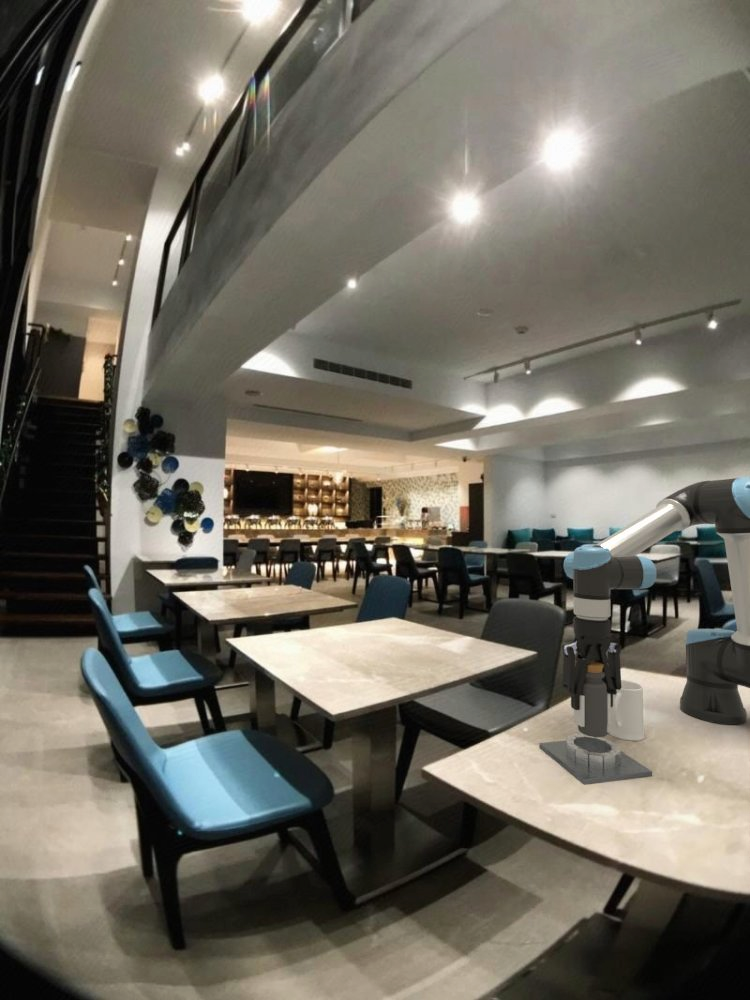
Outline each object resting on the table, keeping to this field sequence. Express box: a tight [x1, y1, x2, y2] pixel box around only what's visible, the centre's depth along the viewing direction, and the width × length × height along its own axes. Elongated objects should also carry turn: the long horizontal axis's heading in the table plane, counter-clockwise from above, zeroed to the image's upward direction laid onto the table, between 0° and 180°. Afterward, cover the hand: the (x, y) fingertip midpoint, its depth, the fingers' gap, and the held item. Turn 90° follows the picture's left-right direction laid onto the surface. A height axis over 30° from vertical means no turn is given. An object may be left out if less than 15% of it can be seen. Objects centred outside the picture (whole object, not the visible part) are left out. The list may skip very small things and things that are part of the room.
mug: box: [607, 679, 646, 742], centre depth 118 cm, size 12×8×12 cm
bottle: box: [577, 660, 608, 738], centre depth 105 cm, size 6×6×15 cm
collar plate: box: [538, 733, 653, 785], centre depth 105 cm, size 16×16×4 cm
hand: (592, 722), depth 105 cm, fingers closed on bottle, 6 cm apart
